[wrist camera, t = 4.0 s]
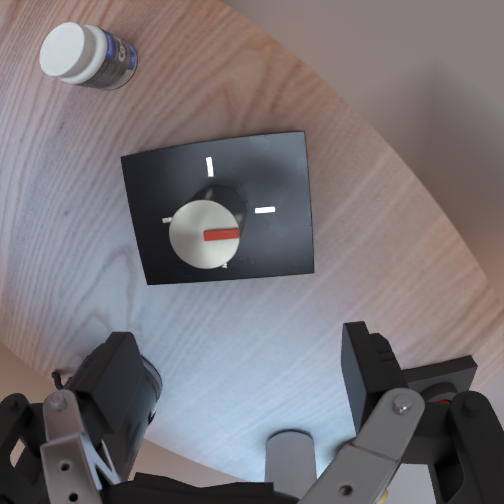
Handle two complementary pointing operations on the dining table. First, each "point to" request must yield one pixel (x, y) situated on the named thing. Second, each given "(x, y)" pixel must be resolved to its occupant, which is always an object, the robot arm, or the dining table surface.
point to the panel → (241, 182)
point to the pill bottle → (87, 57)
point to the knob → (208, 227)
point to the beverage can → (291, 463)
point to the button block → (442, 379)
